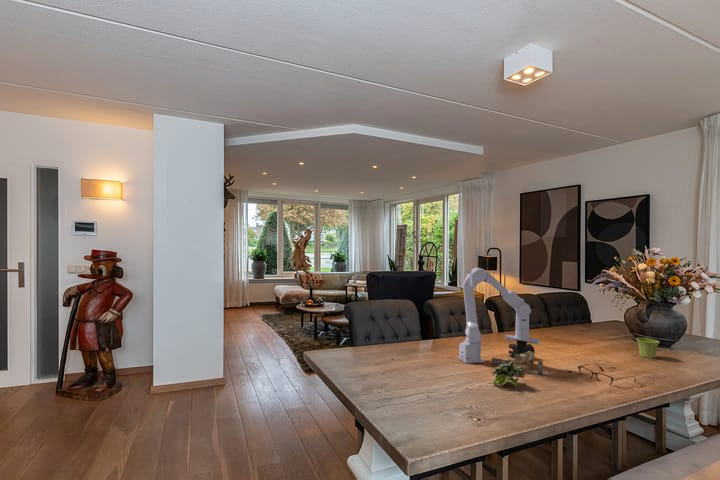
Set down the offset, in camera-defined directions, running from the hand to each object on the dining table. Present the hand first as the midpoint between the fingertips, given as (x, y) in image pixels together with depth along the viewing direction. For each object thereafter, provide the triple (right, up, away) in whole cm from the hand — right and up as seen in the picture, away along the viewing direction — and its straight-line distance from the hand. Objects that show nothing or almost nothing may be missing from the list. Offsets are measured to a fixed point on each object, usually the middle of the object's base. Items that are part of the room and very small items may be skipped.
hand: (521, 357), depth 160 cm
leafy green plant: (-17, -2, -26) cm, 32 cm away
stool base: (-5, -3, -7) cm, 9 cm away
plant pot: (+74, -6, +18) cm, 76 cm away
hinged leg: (0, -3, -3) cm, 4 cm away
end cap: (+4, -4, +10) cm, 12 cm away
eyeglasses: (+29, -4, -15) cm, 33 cm away
